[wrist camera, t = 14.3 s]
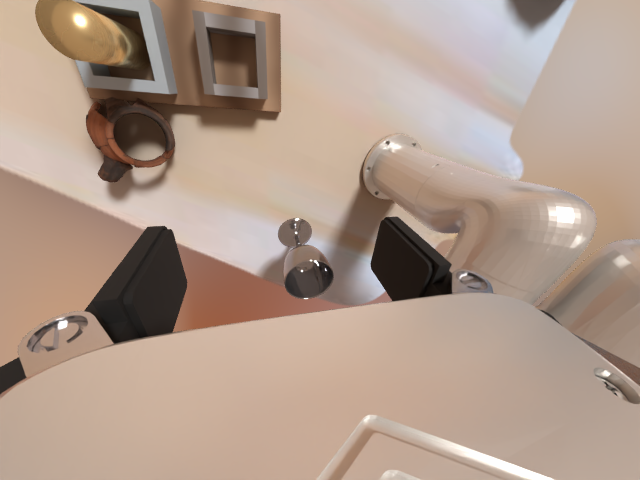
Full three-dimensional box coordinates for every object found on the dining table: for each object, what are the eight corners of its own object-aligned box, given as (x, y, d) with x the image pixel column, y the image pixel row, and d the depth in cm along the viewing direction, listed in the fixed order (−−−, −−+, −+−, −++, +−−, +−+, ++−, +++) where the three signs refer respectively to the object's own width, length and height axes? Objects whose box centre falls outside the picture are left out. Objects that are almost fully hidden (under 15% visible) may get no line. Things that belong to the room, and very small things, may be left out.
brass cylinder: (145, 30, 28) (89, -1, 18) (155, 71, 30) (109, 63, 20) (105, 25, 27) (23, -11, 17) (119, 68, 29) (52, 58, 19)
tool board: (279, 17, 31) (283, 6, 27) (279, 111, 37) (283, 113, 33) (54, -22, 25) (16, -43, 21) (96, 97, 31) (73, 99, 27)
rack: (160, 8, 27) (148, -3, 24) (177, 93, 32) (169, 94, 28) (71, -6, 25) (45, -20, 22) (103, 87, 30) (85, 87, 26)
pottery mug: (95, 75, 30) (106, 78, 26) (173, 118, 38) (192, 127, 33) (65, 161, 32) (71, 179, 27) (146, 186, 40) (161, 203, 35)
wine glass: (271, 222, 47) (278, 269, 35) (309, 211, 48) (330, 254, 35) (281, 253, 51) (291, 304, 39) (316, 243, 52) (336, 290, 40)
